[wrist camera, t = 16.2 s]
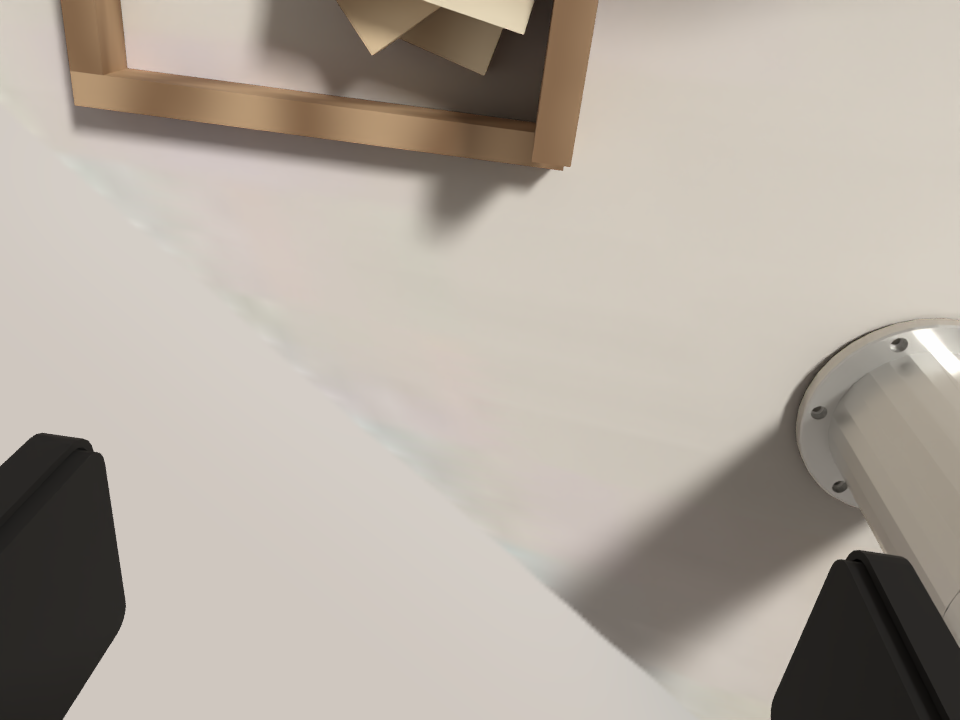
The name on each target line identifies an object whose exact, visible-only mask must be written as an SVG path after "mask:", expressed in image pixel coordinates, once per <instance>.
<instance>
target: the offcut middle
mask: <svg viewBox="0 0 960 720" xmlns="http://www.w3.org/2000/svg"><path fill="white" fill-rule="evenodd" d="M336 1H337V3H338V4H339V6H340V7H341V9H342V11H343V12H344V14H345V15H346V17H347V18H348V20H349V21H350V23H351V24H352V26H353V27H354V29H355V30H356V32H357V33H358V35H359V36H360V38H361V40H362V41H363V43H364V44H365V46H366V47H367V49H368V50H369V52H370V53H371V55H374V54H376V53H378V52H379V51H381V50H383V49H385V48H386V47H387V46H389V45H390V44H391V43H393V42H394V41H396V40H397V39H398V38H400V37H401V36H402V35H404V34H405V33H407V32H408V31H409V30H411V29H412V28H414V27H415V26H416V25H418V24H419V23H420V22H422V21H423V20H425V19H426V18H427V17H429V16H430V15H432V14H433V13H434V12H436V11H437V10H438V9H440V8H441V6H438V5H435V4H432V3H429V2H426V1H424V0H336Z"/></svg>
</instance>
